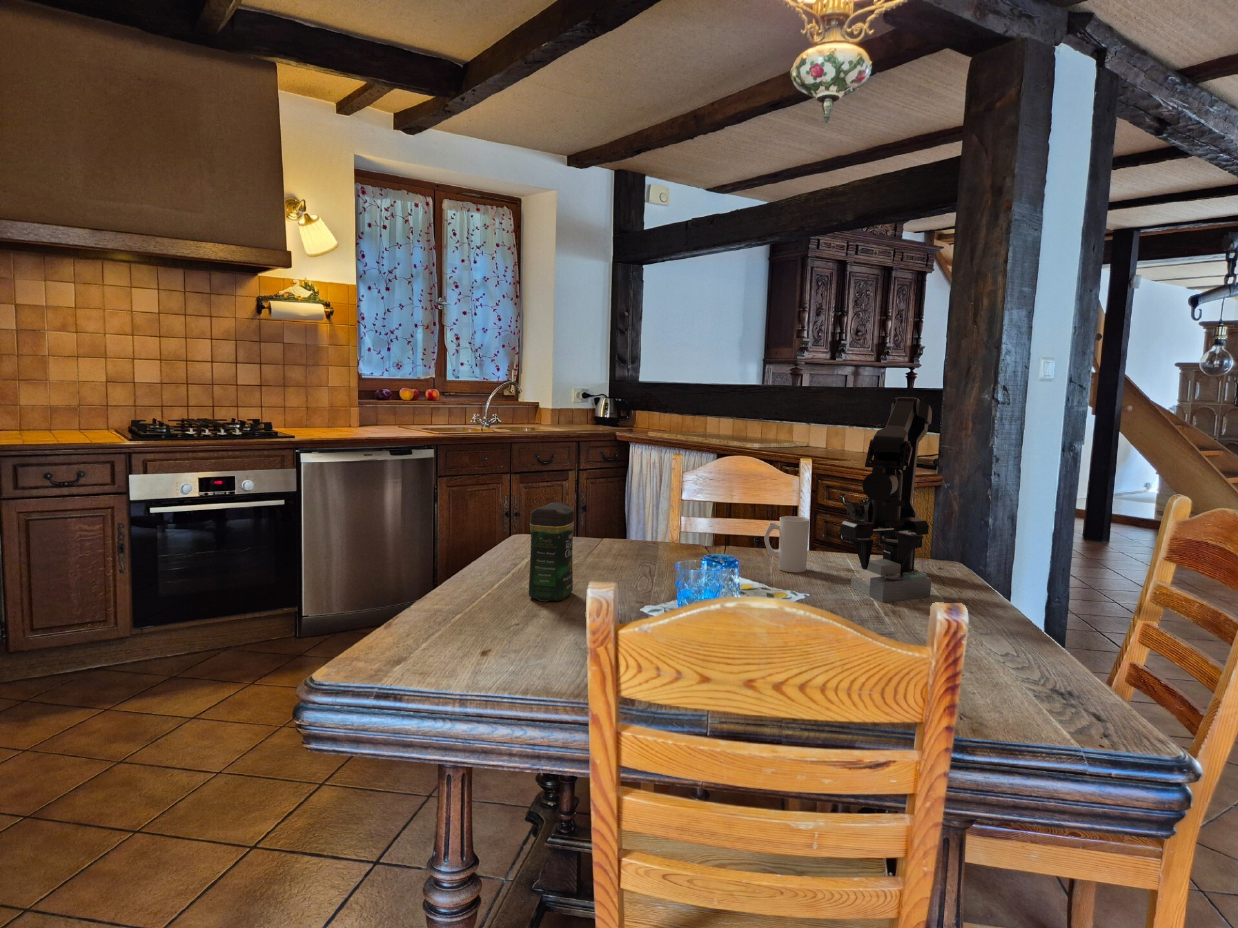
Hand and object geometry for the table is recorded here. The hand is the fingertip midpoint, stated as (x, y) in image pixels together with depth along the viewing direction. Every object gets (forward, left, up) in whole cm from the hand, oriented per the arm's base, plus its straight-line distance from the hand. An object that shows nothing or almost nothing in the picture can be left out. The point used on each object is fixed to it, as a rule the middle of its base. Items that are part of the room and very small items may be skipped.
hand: (882, 567), depth 161 cm
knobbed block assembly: (0, +3, -5) cm, 6 cm away
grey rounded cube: (0, 0, -5) cm, 5 cm away
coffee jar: (+68, -15, -5) cm, 70 cm away
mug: (+10, -21, -5) cm, 24 cm away
